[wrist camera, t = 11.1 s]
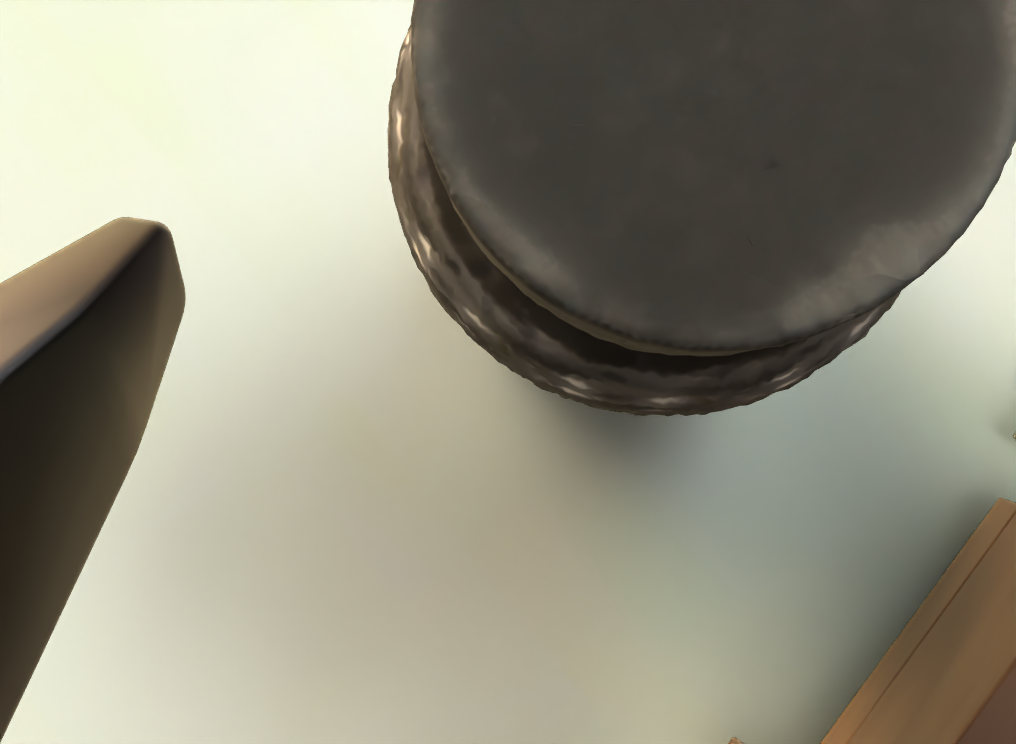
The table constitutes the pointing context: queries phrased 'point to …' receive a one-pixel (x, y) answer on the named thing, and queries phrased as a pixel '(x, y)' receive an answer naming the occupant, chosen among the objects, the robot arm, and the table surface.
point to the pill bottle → (691, 179)
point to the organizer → (735, 741)
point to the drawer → (950, 655)
